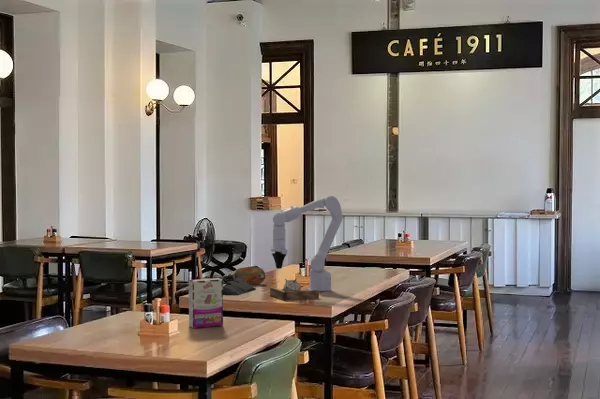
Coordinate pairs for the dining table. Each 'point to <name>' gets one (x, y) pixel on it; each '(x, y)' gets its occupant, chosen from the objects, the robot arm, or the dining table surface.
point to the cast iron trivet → (237, 287)
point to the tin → (250, 275)
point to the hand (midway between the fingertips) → (278, 268)
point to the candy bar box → (205, 303)
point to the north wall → (301, 294)
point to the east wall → (277, 293)
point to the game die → (291, 285)
